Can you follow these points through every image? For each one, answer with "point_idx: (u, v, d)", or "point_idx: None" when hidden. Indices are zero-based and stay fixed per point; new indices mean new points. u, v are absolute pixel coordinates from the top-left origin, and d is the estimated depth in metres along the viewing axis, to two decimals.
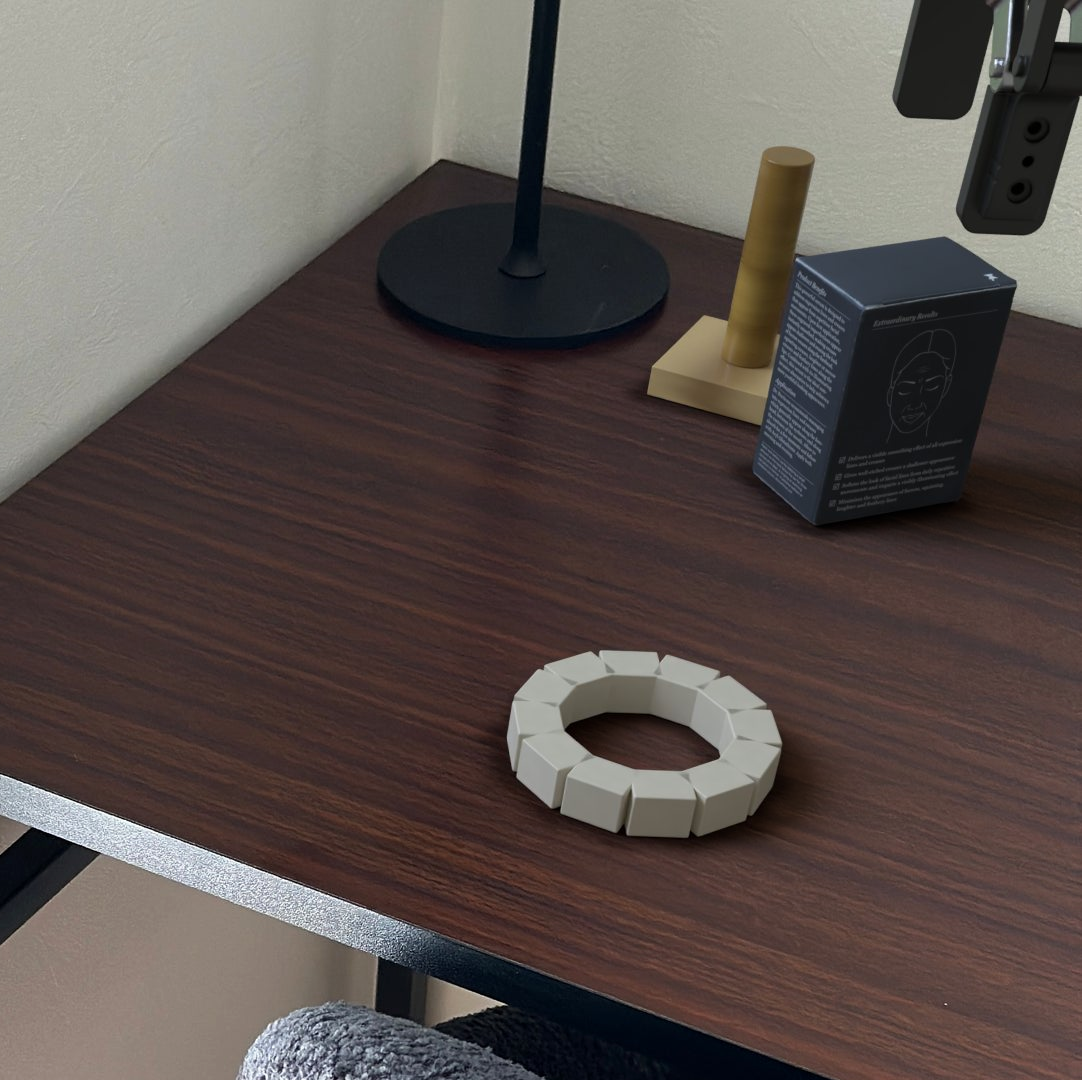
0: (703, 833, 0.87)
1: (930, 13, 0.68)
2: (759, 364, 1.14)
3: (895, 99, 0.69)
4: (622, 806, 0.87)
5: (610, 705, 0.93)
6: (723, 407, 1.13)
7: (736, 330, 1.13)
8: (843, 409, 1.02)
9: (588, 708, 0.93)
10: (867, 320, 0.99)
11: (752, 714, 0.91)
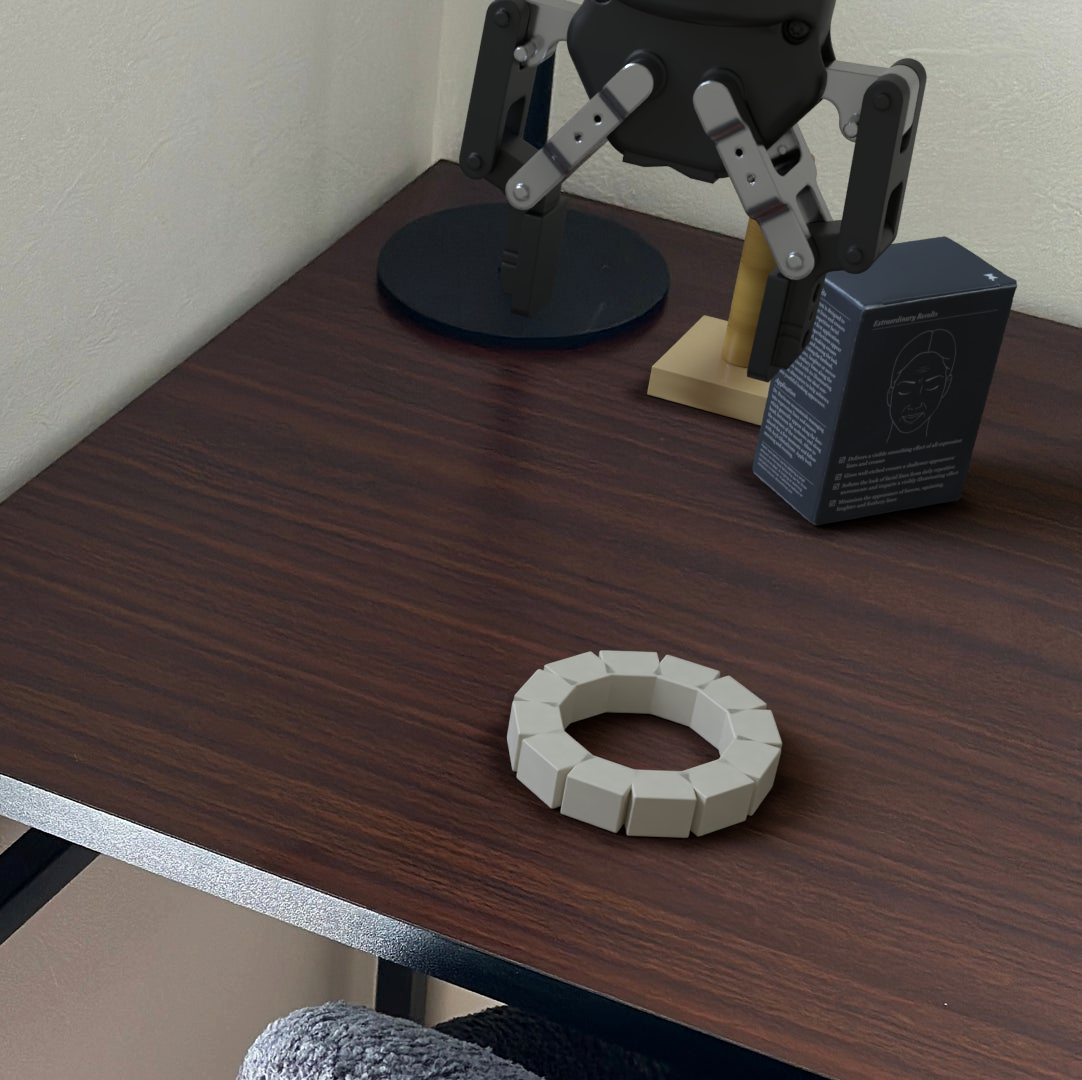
0: (703, 833, 0.87)
1: (544, 234, 0.79)
2: None
3: (522, 308, 0.81)
4: (622, 806, 0.87)
5: (610, 705, 0.93)
6: (723, 407, 1.13)
7: (736, 330, 1.13)
8: (843, 409, 1.02)
9: (588, 708, 0.93)
10: (867, 320, 0.99)
11: (752, 714, 0.91)
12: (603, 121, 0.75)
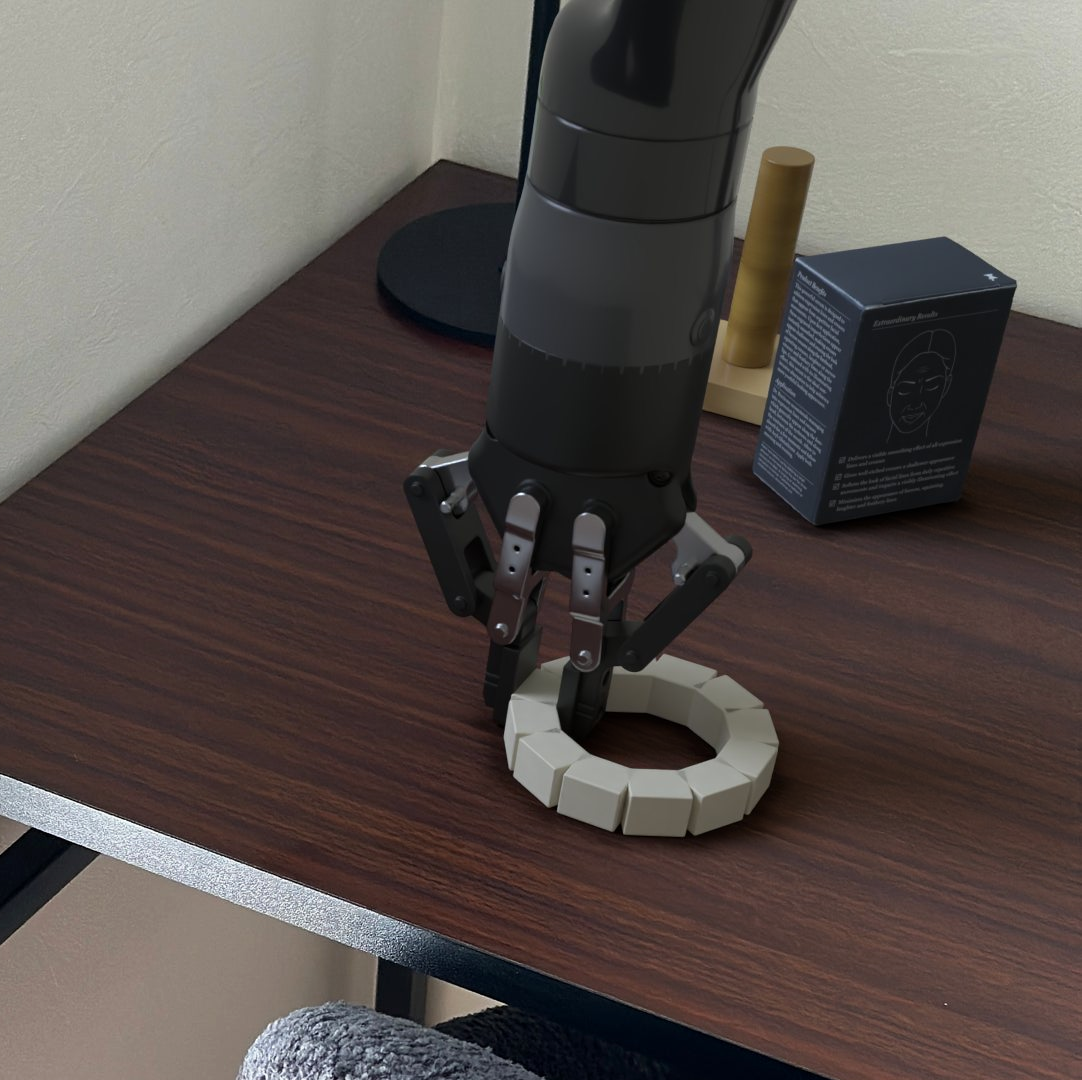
0: (700, 832, 0.87)
1: (521, 663, 0.91)
2: (759, 364, 1.14)
3: (502, 720, 0.92)
4: (619, 805, 0.87)
5: (607, 704, 0.93)
6: (723, 407, 1.13)
7: (736, 330, 1.13)
8: (843, 409, 1.02)
9: None
10: (867, 320, 0.99)
11: (749, 713, 0.91)
12: None
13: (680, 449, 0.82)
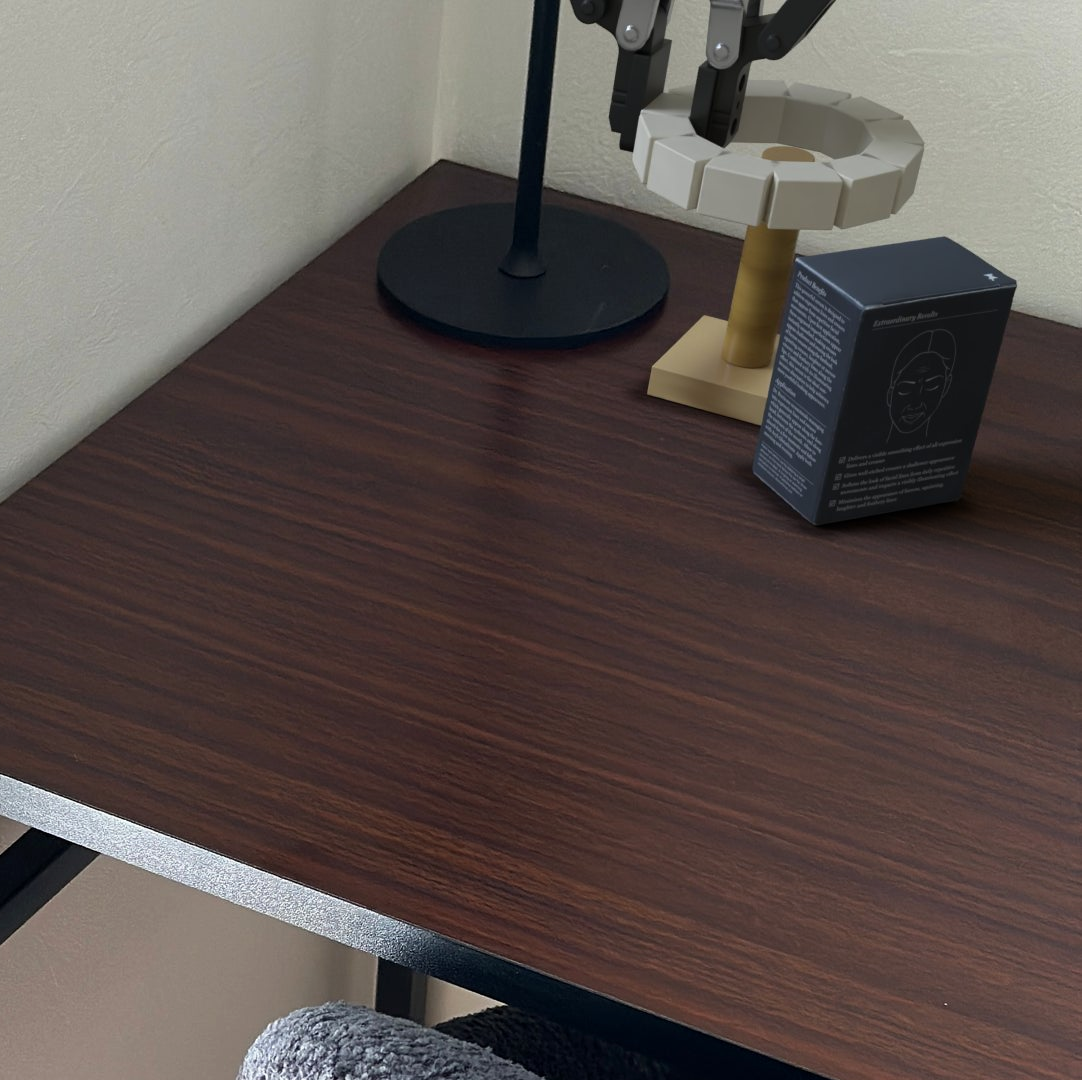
0: (847, 226, 0.84)
1: (651, 73, 0.87)
2: (759, 364, 1.14)
3: (630, 144, 0.88)
4: (764, 193, 0.83)
5: (736, 133, 0.90)
6: (723, 407, 1.13)
7: (736, 330, 1.13)
8: (843, 409, 1.02)
9: None
10: (867, 320, 0.99)
11: (890, 122, 0.87)
12: None
13: None
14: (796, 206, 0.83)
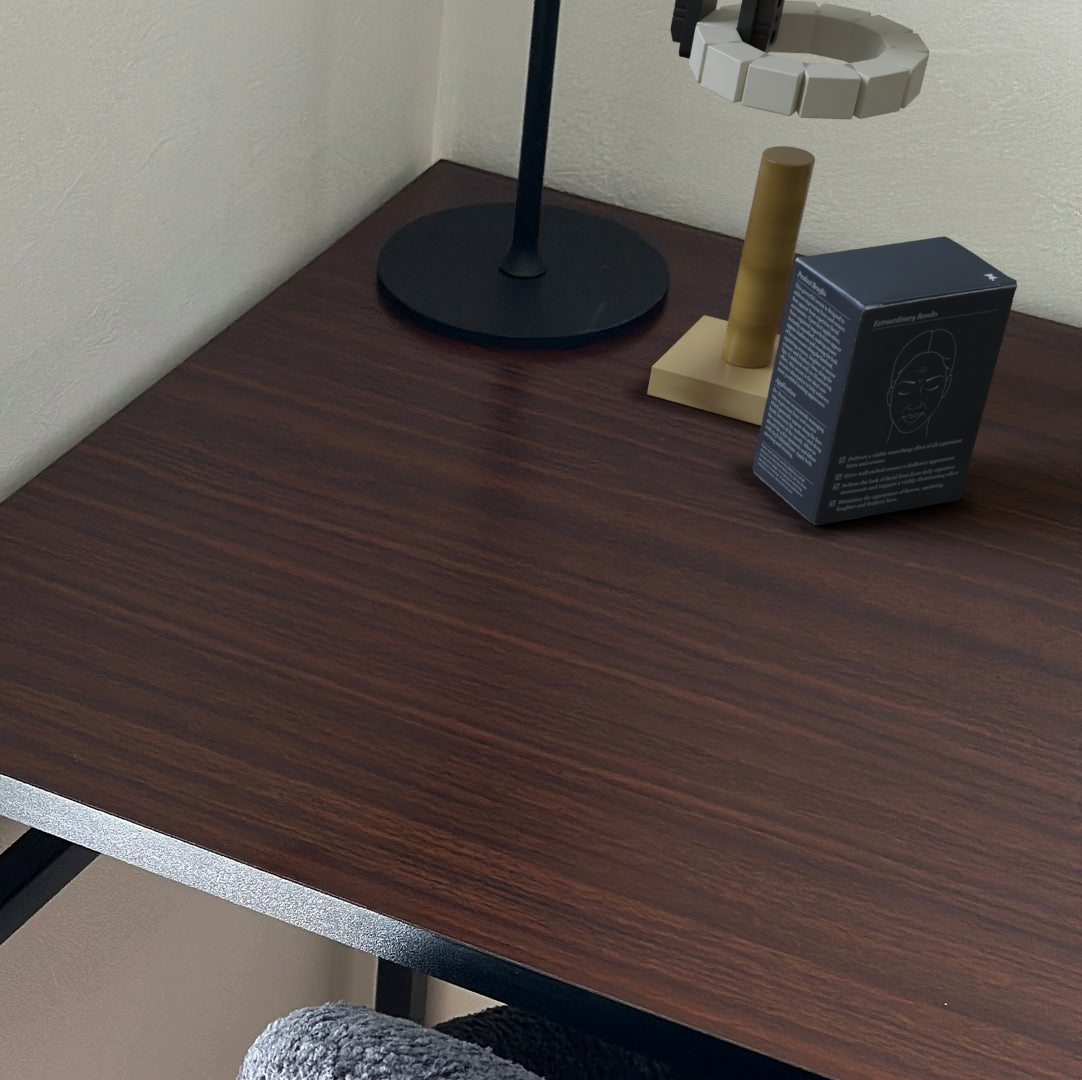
0: (864, 116, 1.03)
1: None
2: (759, 364, 1.14)
3: (688, 51, 1.07)
4: (797, 87, 1.02)
5: (775, 44, 1.09)
6: (723, 407, 1.13)
7: (736, 330, 1.13)
8: (843, 409, 1.02)
9: None
10: (867, 320, 0.99)
11: (901, 35, 1.06)
12: None
13: None
14: (823, 98, 1.02)
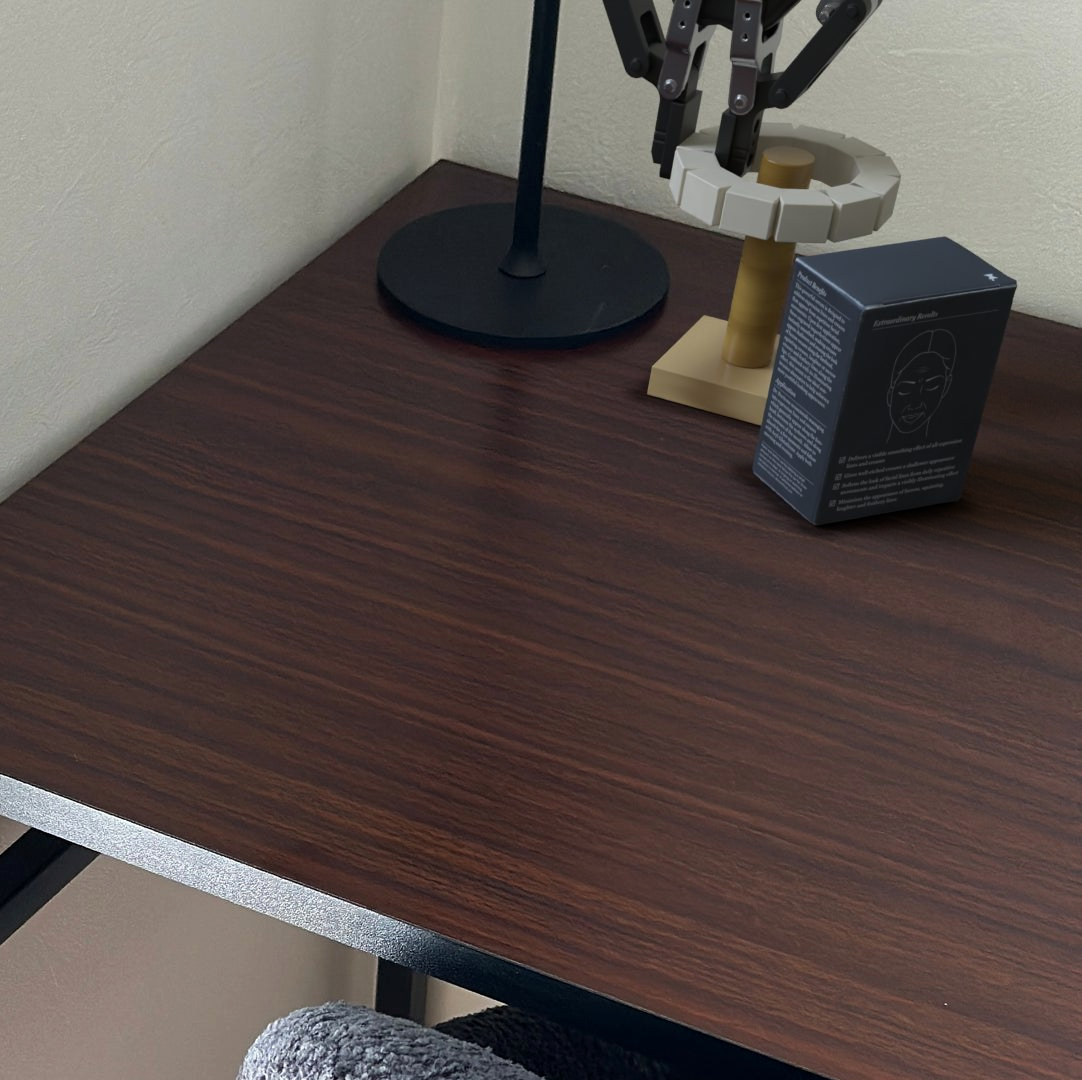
0: (838, 240, 1.06)
1: (685, 117, 1.09)
2: (759, 364, 1.14)
3: (668, 173, 1.11)
4: (772, 213, 1.05)
5: (753, 165, 1.12)
6: (723, 407, 1.13)
7: (736, 330, 1.13)
8: (843, 409, 1.02)
9: None
10: (867, 320, 0.99)
11: (874, 158, 1.09)
12: None
13: None
14: (797, 224, 1.06)
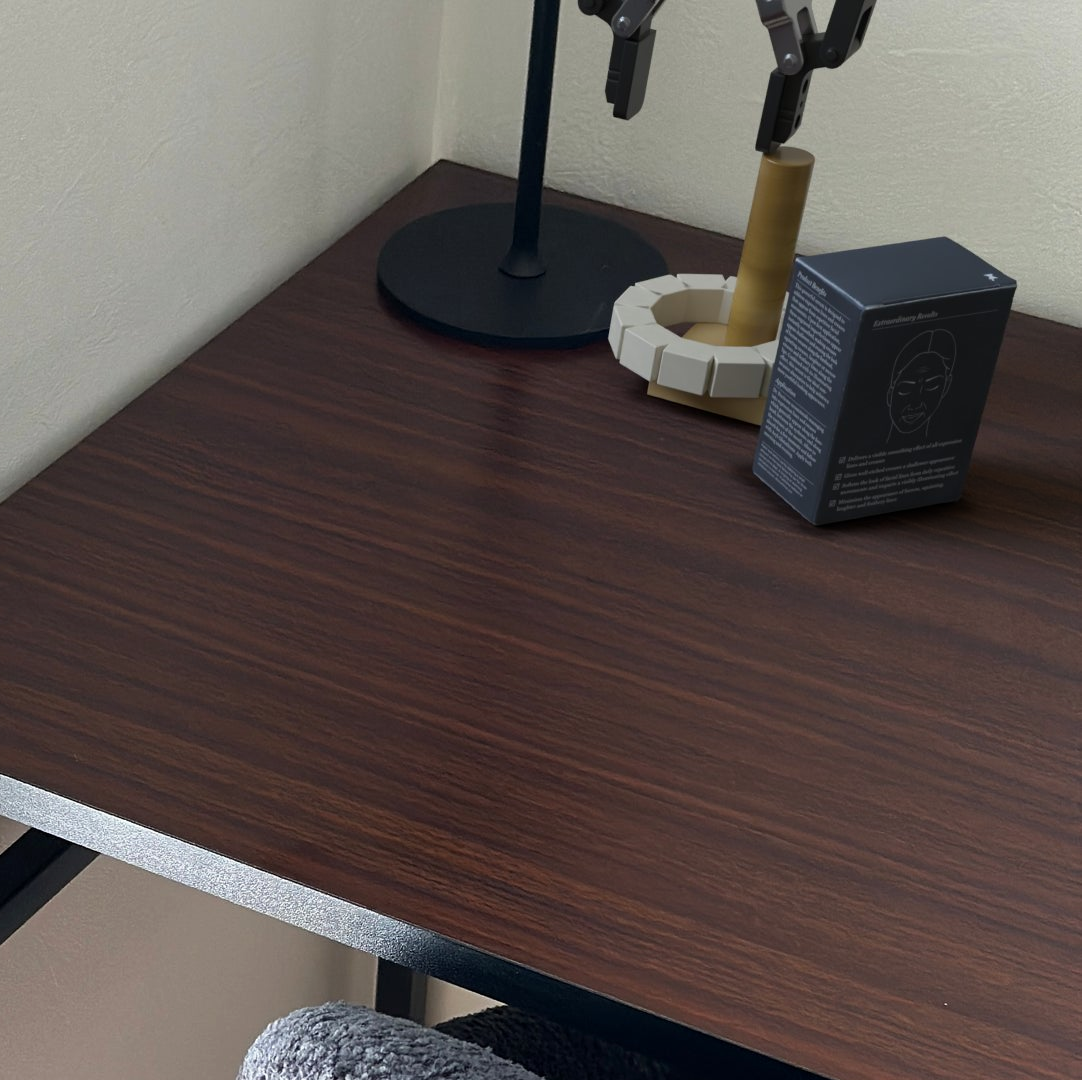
0: None
1: (639, 56, 1.09)
2: None
3: (621, 112, 1.11)
4: (707, 371, 1.11)
5: (687, 316, 1.18)
6: (723, 407, 1.13)
7: (736, 330, 1.13)
8: (843, 409, 1.02)
9: (670, 317, 1.17)
10: (867, 320, 0.99)
11: None
12: None
13: None
14: (731, 381, 1.11)
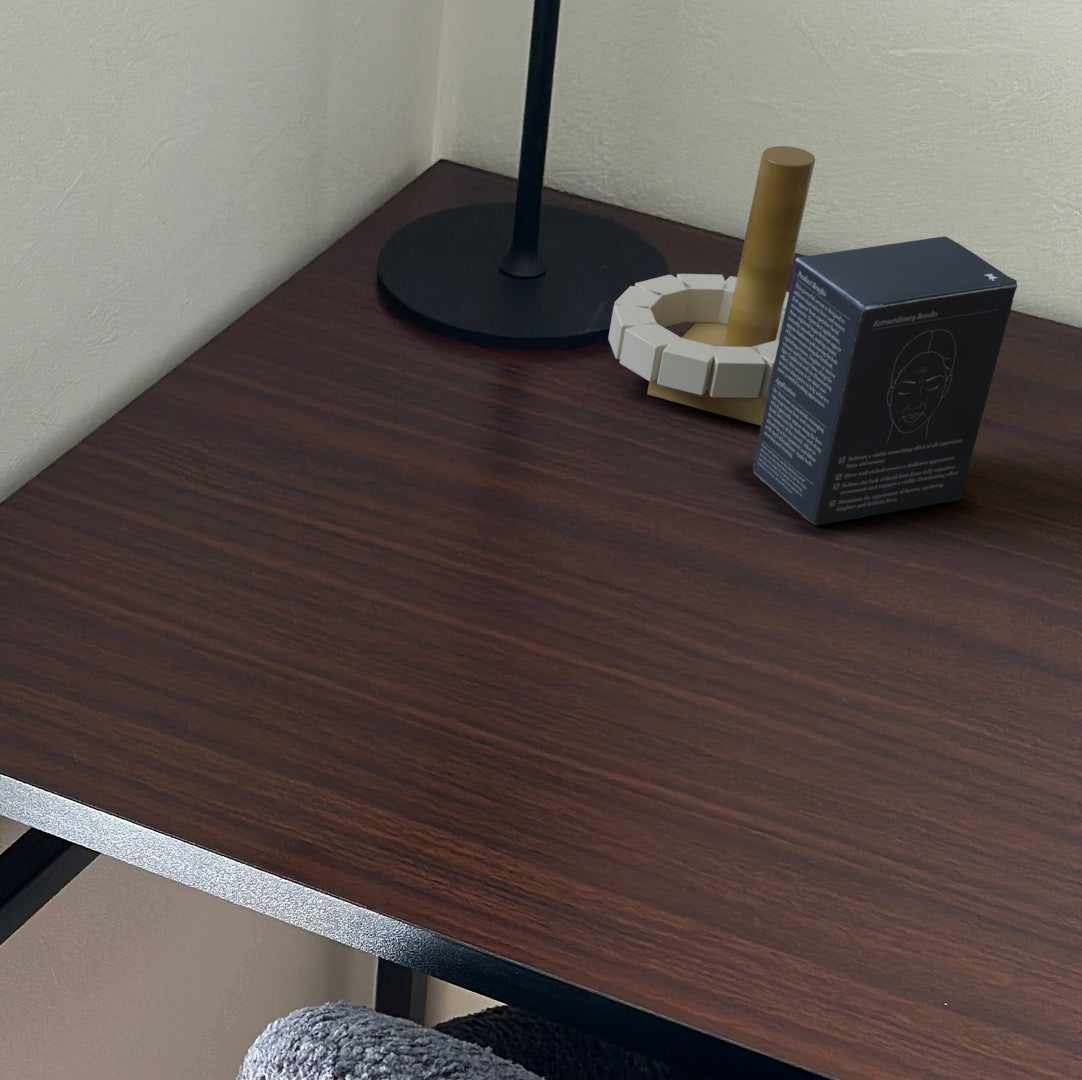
0: None
1: None
2: None
3: None
4: (707, 371, 1.11)
5: (687, 316, 1.18)
6: (723, 407, 1.13)
7: (736, 330, 1.13)
8: (843, 409, 1.02)
9: (670, 317, 1.17)
10: (867, 320, 0.99)
11: None
12: None
13: None
14: (731, 381, 1.11)
